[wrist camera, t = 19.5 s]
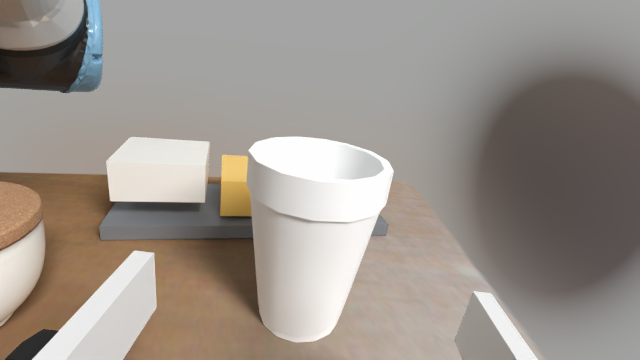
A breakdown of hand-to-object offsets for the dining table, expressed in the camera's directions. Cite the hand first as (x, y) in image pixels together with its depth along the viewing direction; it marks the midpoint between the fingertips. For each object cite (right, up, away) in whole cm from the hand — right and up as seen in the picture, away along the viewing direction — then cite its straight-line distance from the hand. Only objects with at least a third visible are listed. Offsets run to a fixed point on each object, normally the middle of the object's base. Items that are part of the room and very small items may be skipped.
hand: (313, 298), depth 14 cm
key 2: (-17, +4, +23) cm, 28 cm away
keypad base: (-8, +1, +27) cm, 28 cm away
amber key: (-7, +3, +26) cm, 27 cm away
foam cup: (-1, -6, +13) cm, 14 cm away
